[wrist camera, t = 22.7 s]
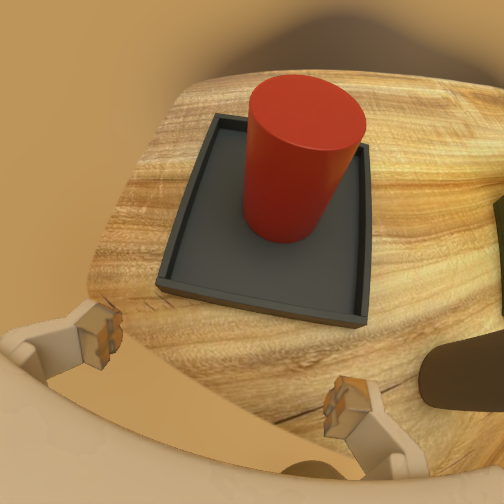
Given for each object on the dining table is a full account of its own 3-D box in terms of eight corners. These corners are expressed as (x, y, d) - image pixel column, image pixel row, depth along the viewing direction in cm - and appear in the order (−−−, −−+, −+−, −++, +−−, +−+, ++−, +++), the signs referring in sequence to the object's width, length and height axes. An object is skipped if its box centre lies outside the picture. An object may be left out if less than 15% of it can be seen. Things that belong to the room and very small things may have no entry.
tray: (356, 329, 21) (367, 325, 19) (161, 291, 22) (154, 284, 20) (361, 157, 28) (368, 144, 26) (216, 127, 28) (215, 112, 26)
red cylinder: (315, 251, 23) (370, 164, 13) (235, 234, 23) (236, 134, 13) (321, 185, 25) (362, 89, 15) (250, 170, 26) (260, 66, 15)
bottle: (458, 336, 21) (590, 289, 7) (467, 393, 19) (599, 378, 5) (412, 356, 21) (564, 319, 7) (422, 418, 19) (568, 428, 5)
